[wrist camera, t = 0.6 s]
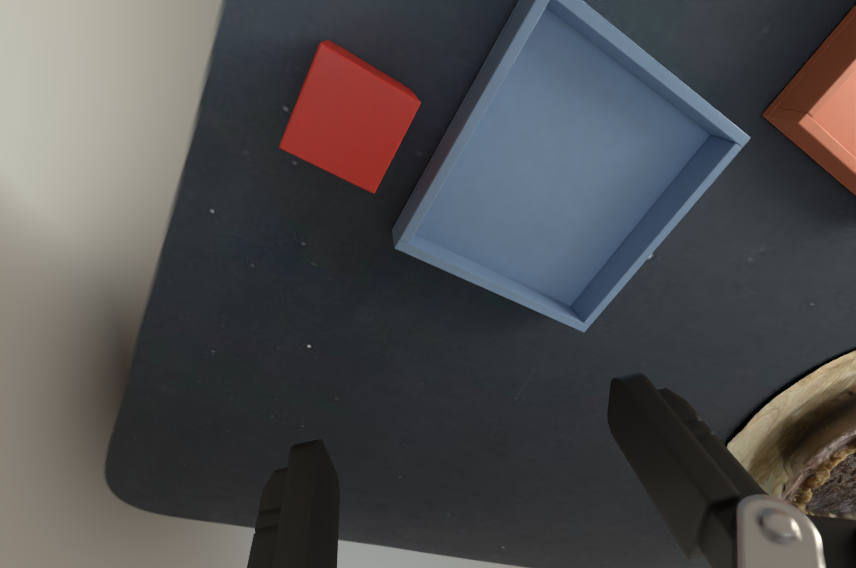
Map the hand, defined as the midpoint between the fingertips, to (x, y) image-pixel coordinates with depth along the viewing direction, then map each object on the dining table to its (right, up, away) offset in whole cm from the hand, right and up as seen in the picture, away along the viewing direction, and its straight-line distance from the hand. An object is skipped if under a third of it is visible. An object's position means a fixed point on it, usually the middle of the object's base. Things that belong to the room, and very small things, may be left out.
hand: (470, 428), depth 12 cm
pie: (+42, -12, +32) cm, 54 cm away
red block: (-5, +13, +10) cm, 17 cm away
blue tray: (+6, +10, +14) cm, 18 cm away
